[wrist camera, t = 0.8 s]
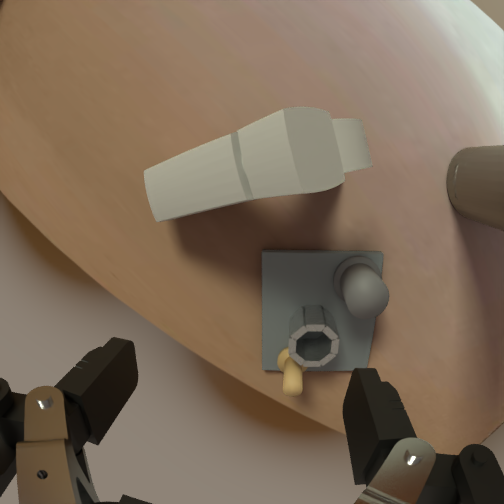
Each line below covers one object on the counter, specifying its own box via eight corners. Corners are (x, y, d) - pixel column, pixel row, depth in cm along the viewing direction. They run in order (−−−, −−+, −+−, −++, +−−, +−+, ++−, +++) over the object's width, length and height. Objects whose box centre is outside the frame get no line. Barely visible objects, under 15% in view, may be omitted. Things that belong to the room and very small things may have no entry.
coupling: (335, 305, 35) (341, 324, 31) (331, 343, 37) (335, 366, 32) (290, 304, 36) (289, 324, 31) (288, 343, 37) (287, 366, 33)
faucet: (140, 168, 30) (282, 96, 16) (250, 149, 41) (385, 111, 26) (155, 225, 32) (308, 203, 17) (260, 193, 42) (399, 172, 27)
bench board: (380, 251, 34) (401, 271, 27) (364, 365, 38) (375, 400, 31) (262, 249, 36) (255, 269, 29) (263, 364, 40) (256, 400, 33)
